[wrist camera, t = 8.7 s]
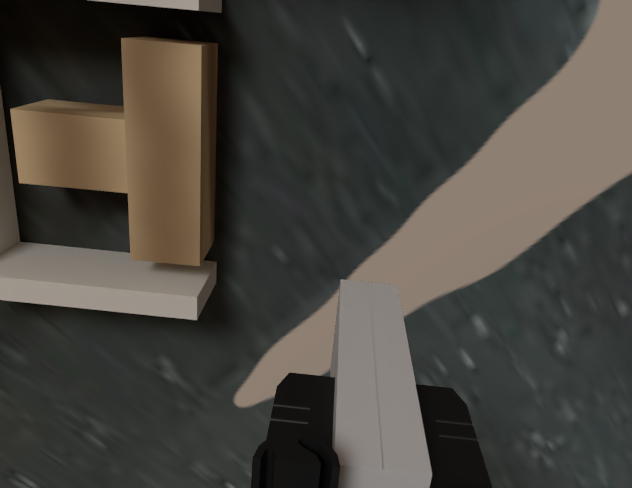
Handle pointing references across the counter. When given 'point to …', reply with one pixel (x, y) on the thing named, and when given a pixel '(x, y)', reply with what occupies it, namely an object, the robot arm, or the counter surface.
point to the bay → (96, 253)
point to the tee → (138, 146)
